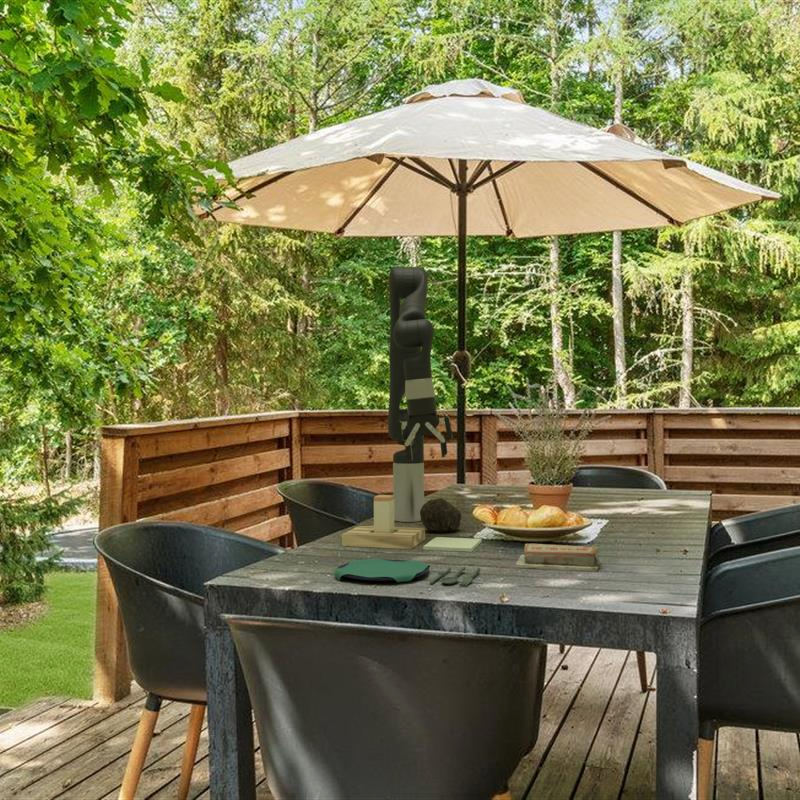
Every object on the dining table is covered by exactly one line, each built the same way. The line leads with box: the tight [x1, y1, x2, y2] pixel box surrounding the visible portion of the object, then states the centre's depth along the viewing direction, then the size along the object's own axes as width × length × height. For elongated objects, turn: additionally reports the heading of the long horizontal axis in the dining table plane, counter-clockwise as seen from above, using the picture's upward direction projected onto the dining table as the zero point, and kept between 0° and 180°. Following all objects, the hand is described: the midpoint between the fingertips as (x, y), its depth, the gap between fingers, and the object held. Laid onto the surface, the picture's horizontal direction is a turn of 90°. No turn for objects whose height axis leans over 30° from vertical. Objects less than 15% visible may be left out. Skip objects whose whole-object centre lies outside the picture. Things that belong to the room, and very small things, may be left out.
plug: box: [373, 494, 395, 534], centre depth 236 cm, size 5×4×12 cm
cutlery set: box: [334, 558, 481, 586], centre depth 194 cm, size 20×30×2 cm, turn 72°
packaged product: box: [514, 543, 601, 573], centre depth 206 cm, size 18×5×10 cm
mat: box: [422, 536, 482, 553], centre depth 231 cm, size 14×12×1 cm
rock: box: [420, 497, 462, 533], centre depth 254 cm, size 10×11×10 cm
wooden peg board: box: [341, 525, 426, 550], centre depth 236 cm, size 14×18×3 cm
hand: (427, 458), depth 239 cm, fingers open, 8 cm apart
